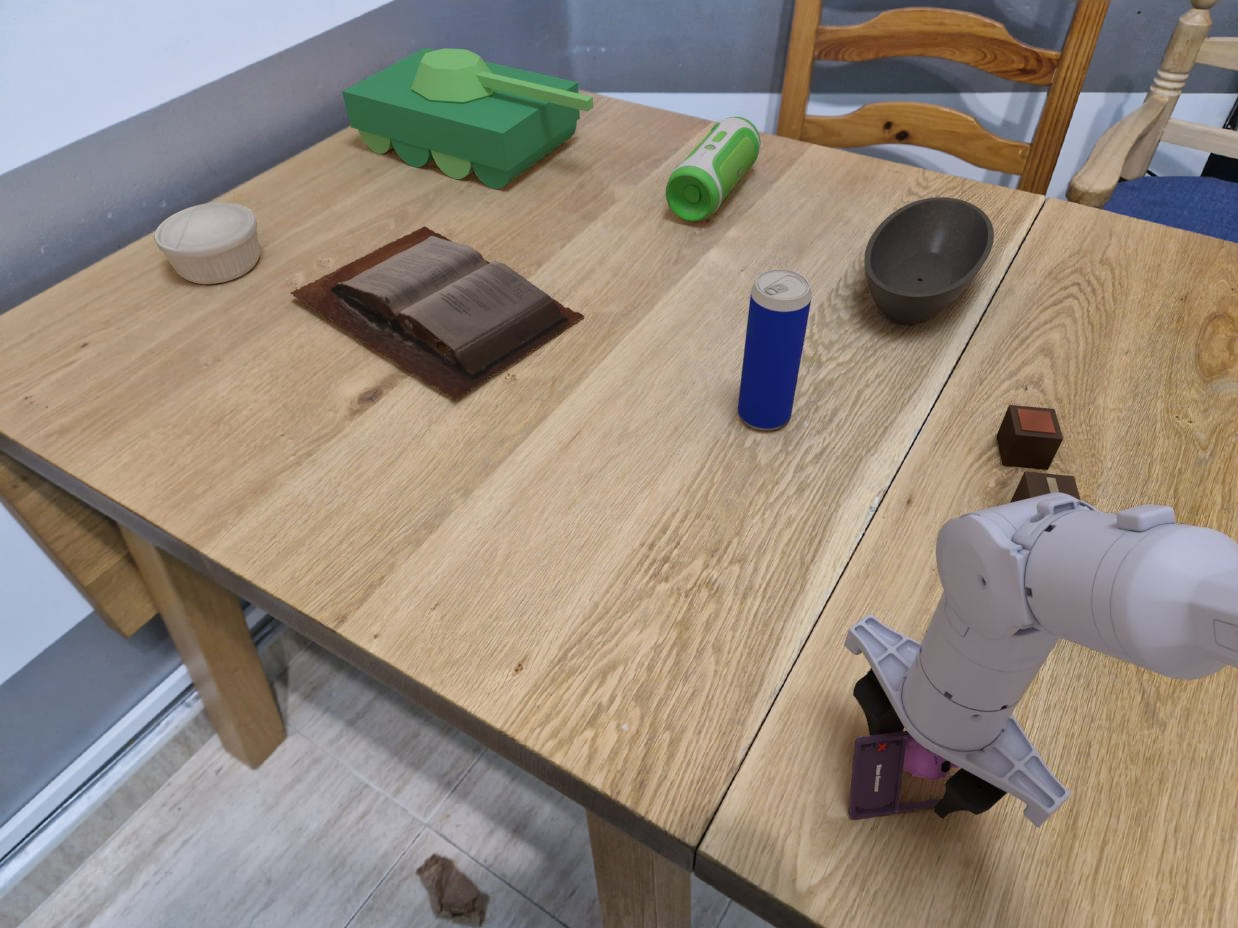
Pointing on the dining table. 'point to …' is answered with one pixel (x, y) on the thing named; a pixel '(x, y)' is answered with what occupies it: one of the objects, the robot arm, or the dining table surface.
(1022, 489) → the brown box
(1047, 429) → the brown box
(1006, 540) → the robot arm
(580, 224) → the dining table surface
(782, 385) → the beverage can
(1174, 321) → the dining table surface
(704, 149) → the speaker
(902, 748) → the game card
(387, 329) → the book
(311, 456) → the dining table surface
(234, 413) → the dining table surface
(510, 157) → the toy tank
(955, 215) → the bowl
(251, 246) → the ramekin
